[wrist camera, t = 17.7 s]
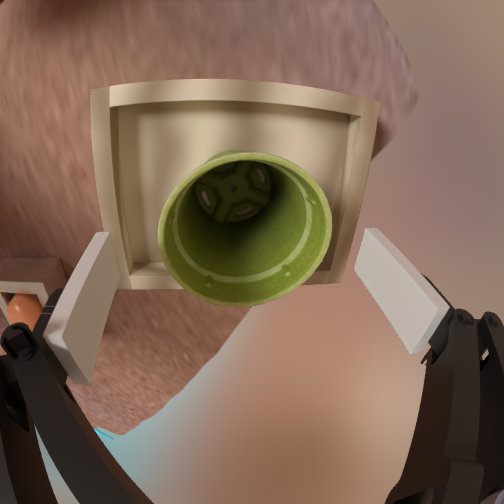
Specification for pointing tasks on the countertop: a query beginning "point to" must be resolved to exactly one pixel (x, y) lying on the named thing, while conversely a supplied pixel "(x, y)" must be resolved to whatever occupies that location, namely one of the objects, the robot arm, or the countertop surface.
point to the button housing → (30, 278)
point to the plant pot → (244, 229)
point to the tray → (216, 141)
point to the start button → (24, 309)
